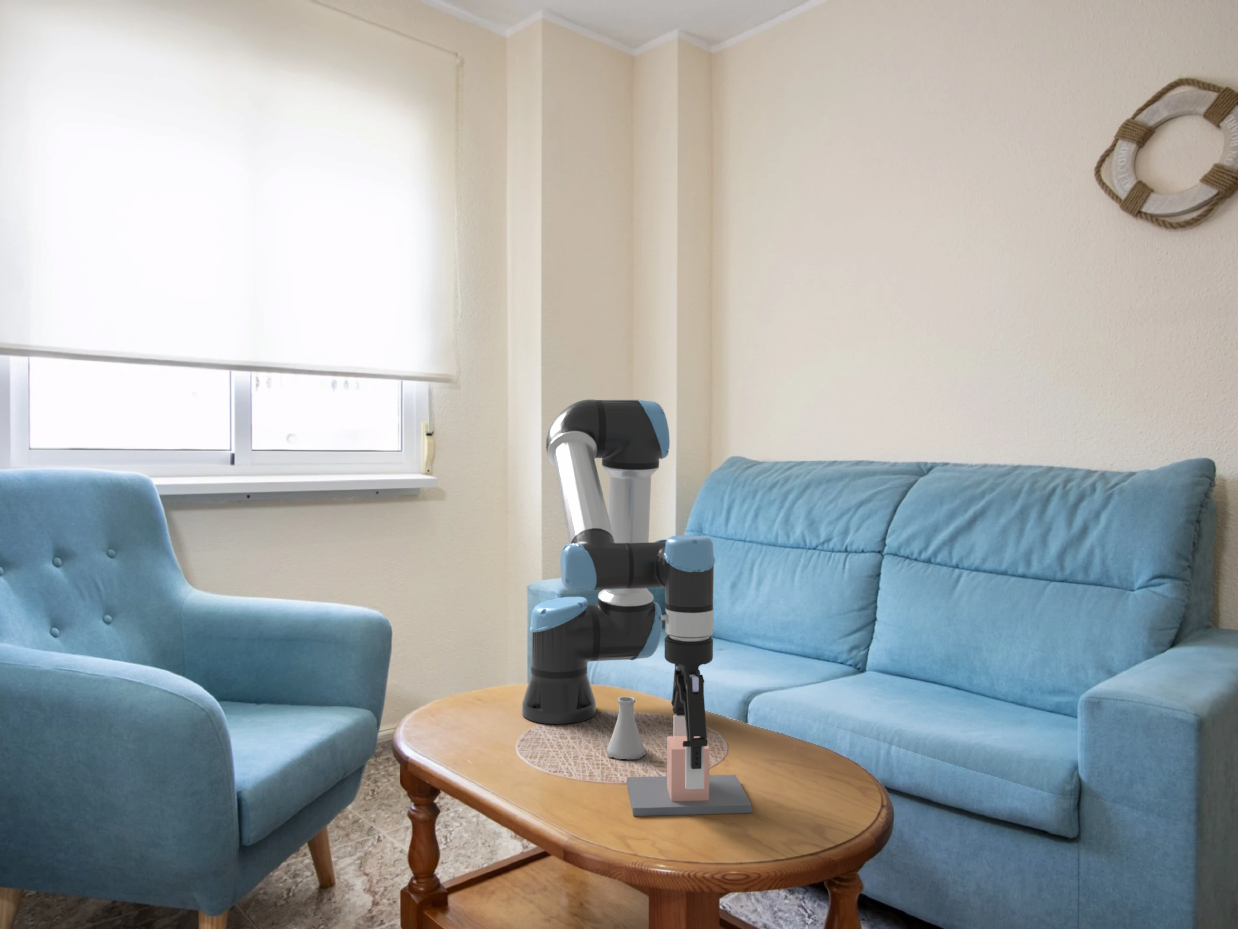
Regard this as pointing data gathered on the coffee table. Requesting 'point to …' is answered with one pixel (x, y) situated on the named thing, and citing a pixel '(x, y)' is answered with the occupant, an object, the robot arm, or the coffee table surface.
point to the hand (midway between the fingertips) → (687, 771)
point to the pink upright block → (683, 771)
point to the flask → (626, 733)
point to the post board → (655, 800)
